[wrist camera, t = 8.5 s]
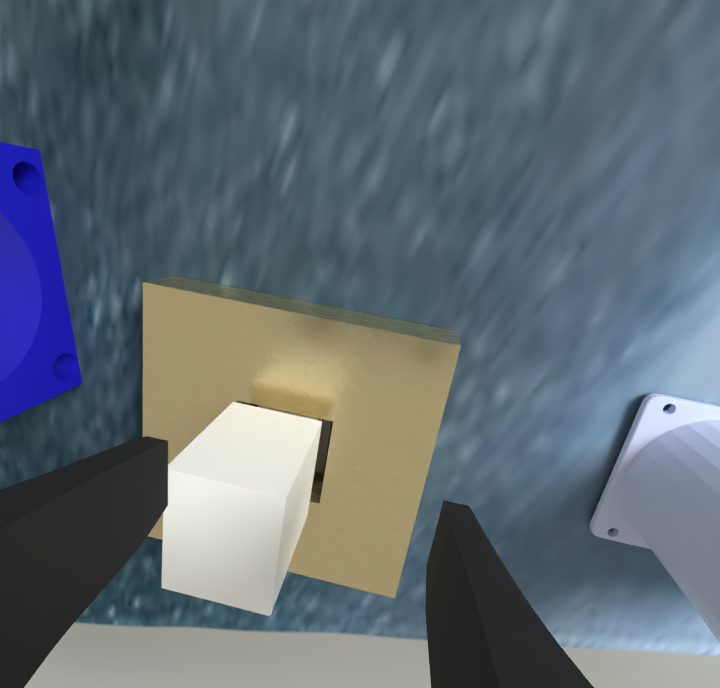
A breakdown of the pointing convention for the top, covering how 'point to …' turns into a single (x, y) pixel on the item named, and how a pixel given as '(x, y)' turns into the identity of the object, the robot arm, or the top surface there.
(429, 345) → the socket plate
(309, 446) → the plug
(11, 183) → the cable clip
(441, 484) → the top surface
